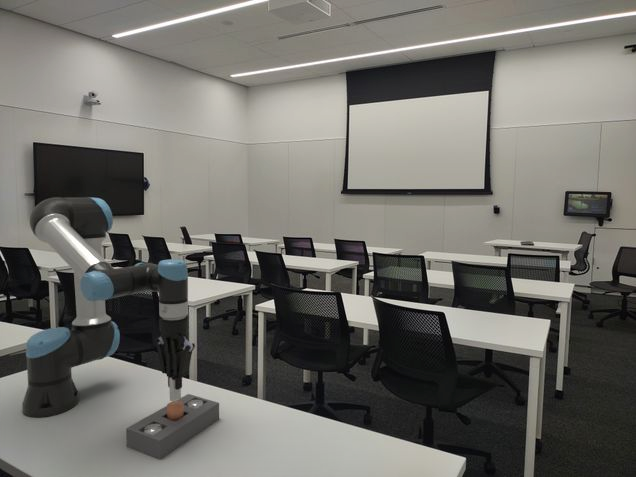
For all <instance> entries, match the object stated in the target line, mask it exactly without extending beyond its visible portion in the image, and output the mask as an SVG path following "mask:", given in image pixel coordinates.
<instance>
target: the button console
mask: <svg viewBox="0 0 636 477" xmlns="http://www.w3.org/2000/svg"><path fill="white" fill-rule="evenodd" d="M191 400H202V401H203V405H201V406H200V407H198V408H197V409H195V408H192V407H188V402H189V401H191ZM176 401H181V402H183V406H184V416H183V417H182V418H180V419H179V420H177V421H173V420H170V419H167V405H165V406H164V407H162V408H160V409H158V410H157V411H154V412H153V413H151V414H149V415H148V416H146V417H144V418H142V419H141V420H139V421H137V422H135V423H133V424H132V425H129V426H128V427H126V428H125V432H126V435H125V436H126V438H125V440H126V443H125V444H126V447H128V448H130V449H132V450H135V451H137V452H139V453H142V454H145V455H147V456H150V457H153V458H155V459H157V460H161V459H163V458H164V457H165V456H168V454H171V453H172V451H174V450H176V449H177V448H179V447H180V446H182V445H183V444H185V443H186V442H187V441H189V440H191V439H192V438H193V437H195V436H196V435H199V433H201V432H202V431H203V430H205V429H207V428H208V427H209V426H212V425H213V424H214V423H215V422H217V421H218V420H220V402H219V401H218V402H217V401H214V400H210V399H208V398H203V397H201V396H197V395H193V394H190V393H187V394H186V395H184V396H181V398H180V399H178V400H176ZM151 424H160V425H161V426H162V430H160V431H159V432H157V433H156V434H154V435H150V434H147V433H144V428H145V427H146V426H148V425H151Z"/></svg>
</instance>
